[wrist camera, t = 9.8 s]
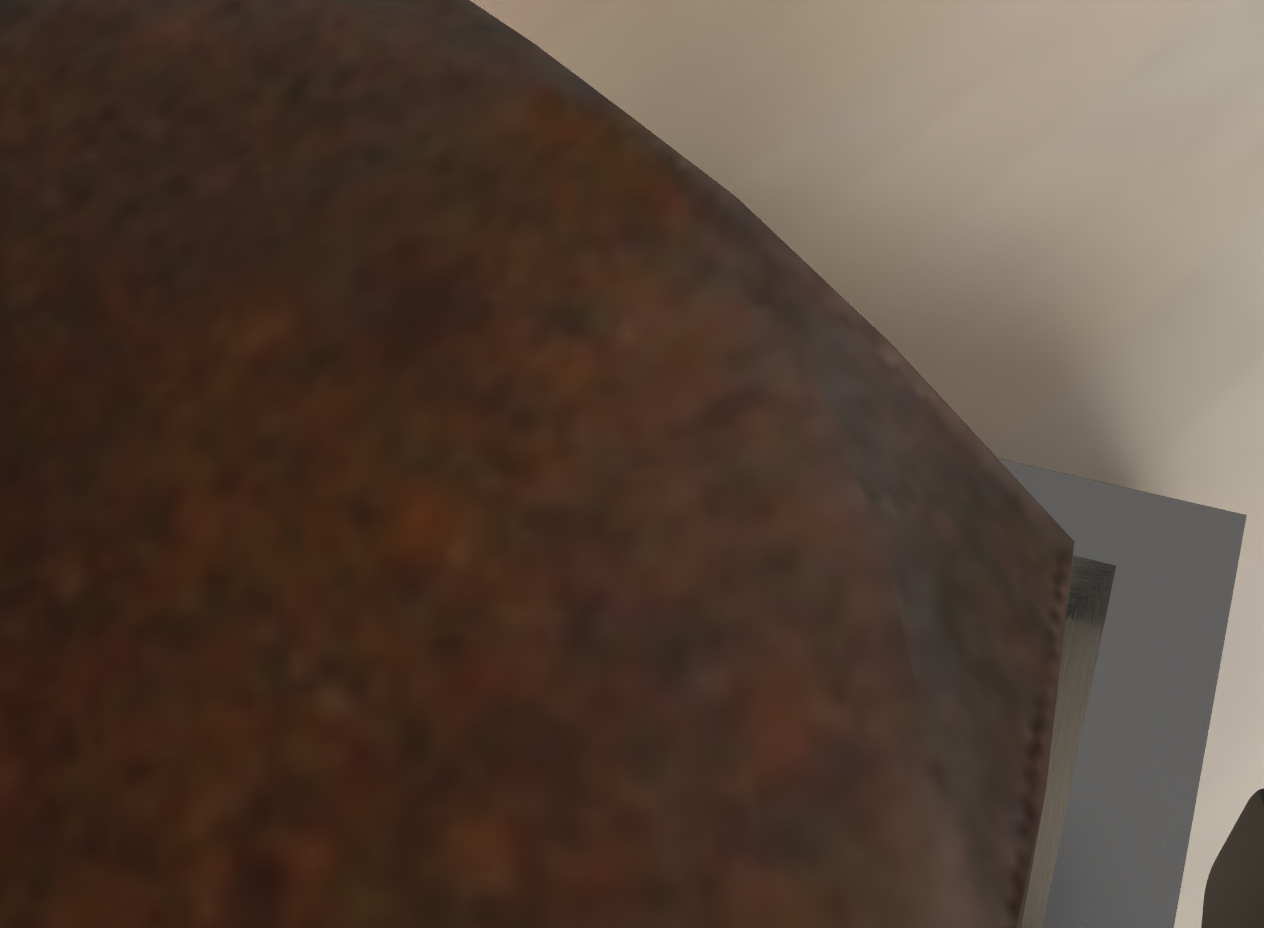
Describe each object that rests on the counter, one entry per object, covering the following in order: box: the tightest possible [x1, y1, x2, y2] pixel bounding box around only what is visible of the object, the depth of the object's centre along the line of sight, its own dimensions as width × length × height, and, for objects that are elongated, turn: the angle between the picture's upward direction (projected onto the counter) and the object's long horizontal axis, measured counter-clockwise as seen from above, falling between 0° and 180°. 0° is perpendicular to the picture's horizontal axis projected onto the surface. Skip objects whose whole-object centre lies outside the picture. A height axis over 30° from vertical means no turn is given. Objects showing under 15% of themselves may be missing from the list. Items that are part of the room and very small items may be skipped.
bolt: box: [0, 0, 1074, 928], centre depth 10 cm, size 6×5×15 cm
